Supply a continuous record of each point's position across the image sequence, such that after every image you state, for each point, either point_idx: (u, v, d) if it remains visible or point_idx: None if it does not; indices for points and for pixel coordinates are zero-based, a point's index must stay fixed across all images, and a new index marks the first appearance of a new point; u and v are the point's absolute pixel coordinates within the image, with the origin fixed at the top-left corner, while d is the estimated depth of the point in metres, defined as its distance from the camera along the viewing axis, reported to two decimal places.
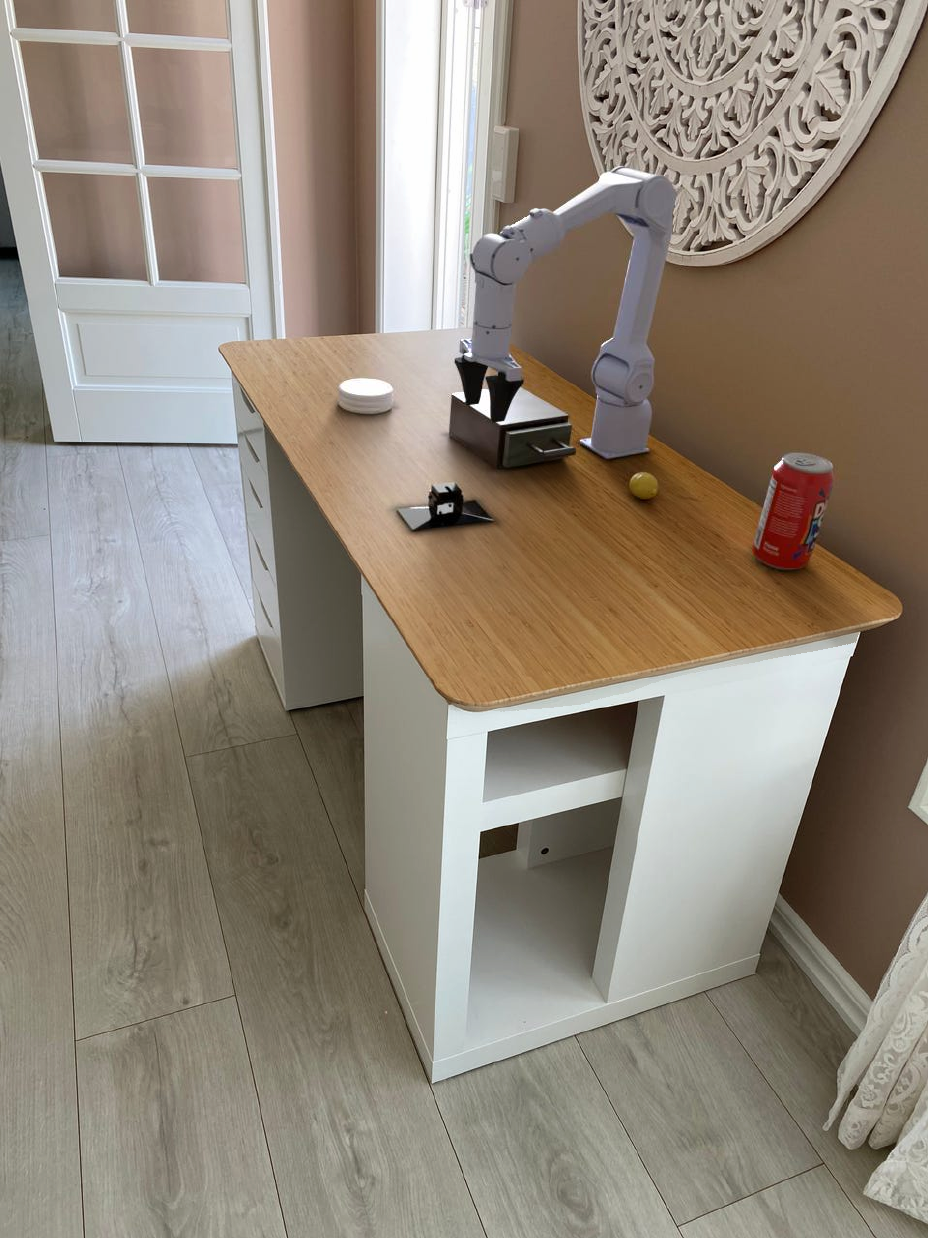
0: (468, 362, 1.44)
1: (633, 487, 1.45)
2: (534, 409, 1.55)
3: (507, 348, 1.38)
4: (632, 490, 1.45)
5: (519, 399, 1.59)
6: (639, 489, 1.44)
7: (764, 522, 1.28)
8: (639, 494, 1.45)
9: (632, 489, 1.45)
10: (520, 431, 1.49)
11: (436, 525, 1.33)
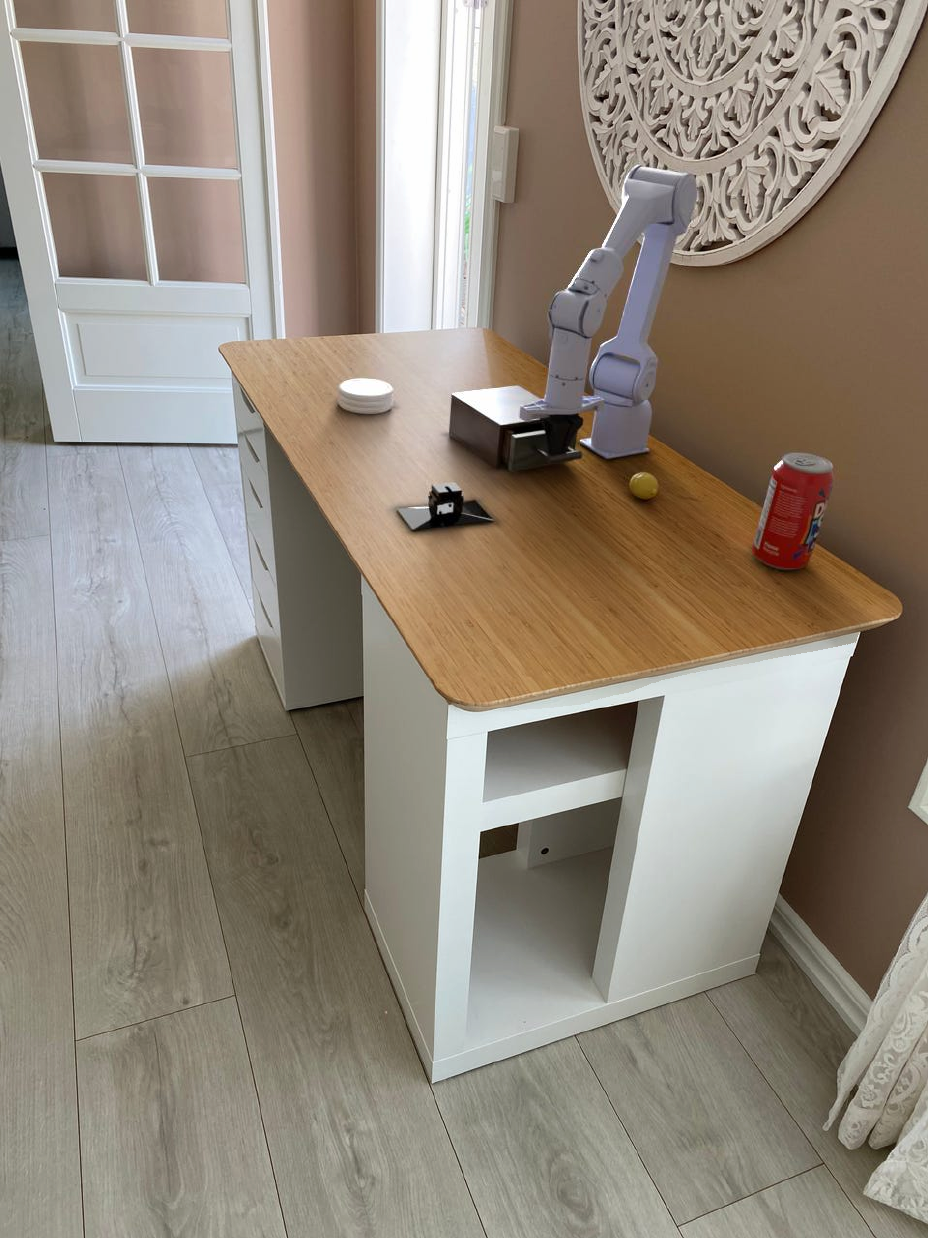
0: None
1: (633, 487, 1.45)
2: None
3: (556, 399, 1.41)
4: (632, 490, 1.45)
5: (519, 399, 1.59)
6: (639, 489, 1.44)
7: (764, 522, 1.28)
8: (639, 494, 1.45)
9: (632, 489, 1.45)
10: (526, 435, 1.48)
11: (436, 524, 1.33)
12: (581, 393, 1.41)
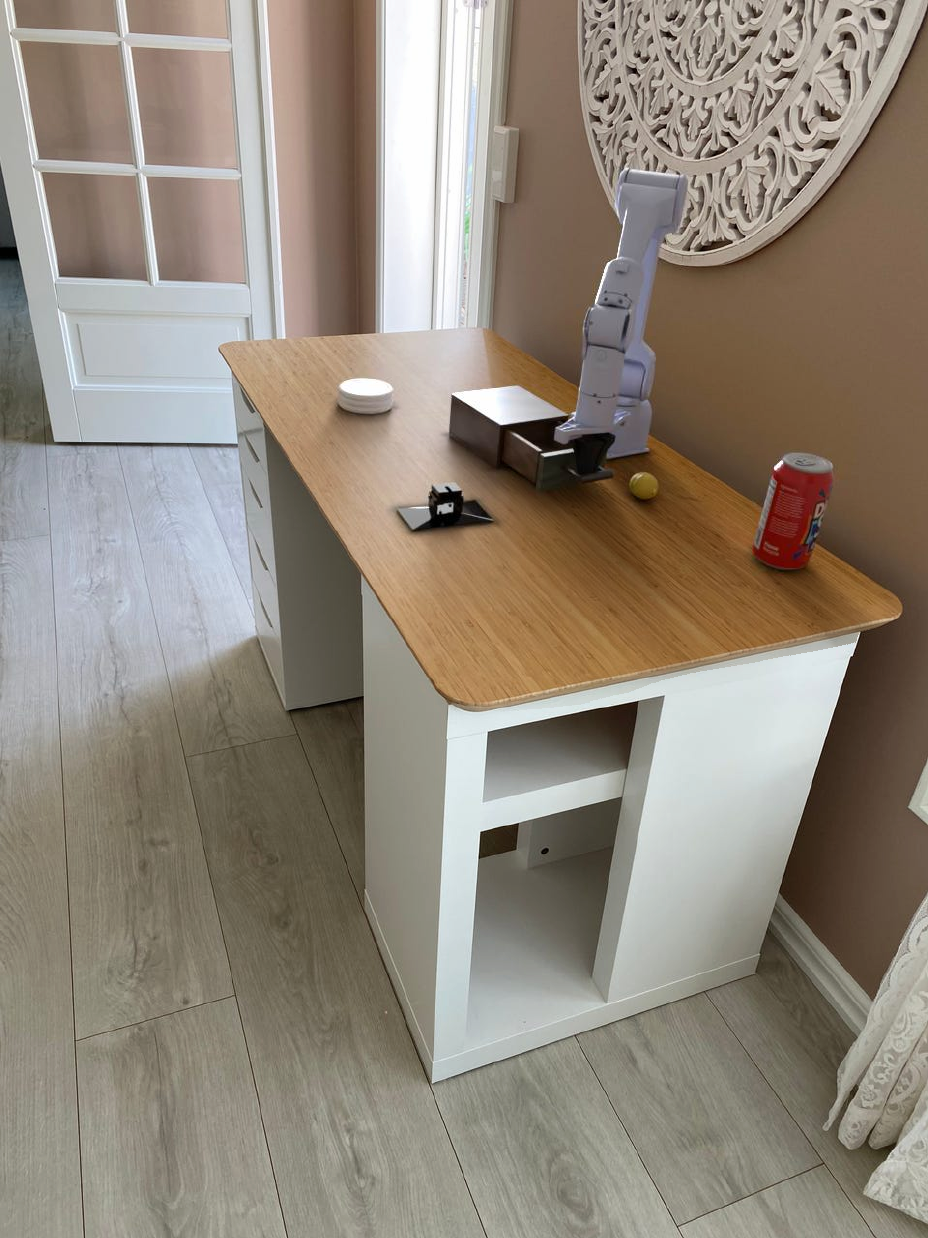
0: None
1: (633, 487, 1.45)
2: (534, 409, 1.55)
3: (591, 417, 1.35)
4: (632, 490, 1.45)
5: (519, 399, 1.59)
6: (639, 489, 1.44)
7: (764, 522, 1.28)
8: (639, 494, 1.45)
9: (632, 489, 1.45)
10: (555, 453, 1.42)
11: (436, 525, 1.33)
12: (615, 410, 1.36)
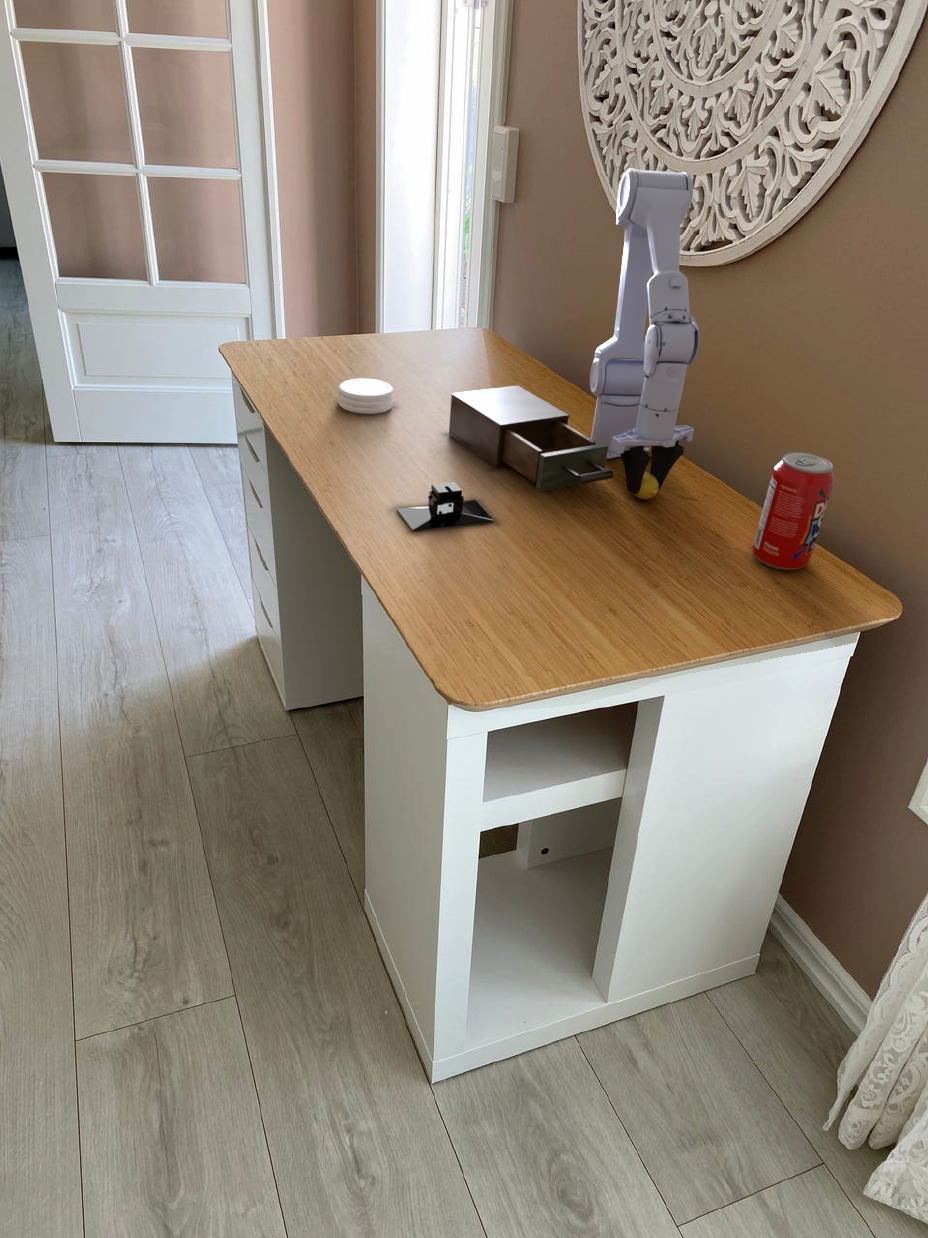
0: None
1: None
2: (534, 409, 1.55)
3: None
4: None
5: (519, 399, 1.59)
6: None
7: (764, 522, 1.28)
8: (639, 494, 1.45)
9: None
10: (555, 453, 1.42)
11: (436, 525, 1.33)
12: None
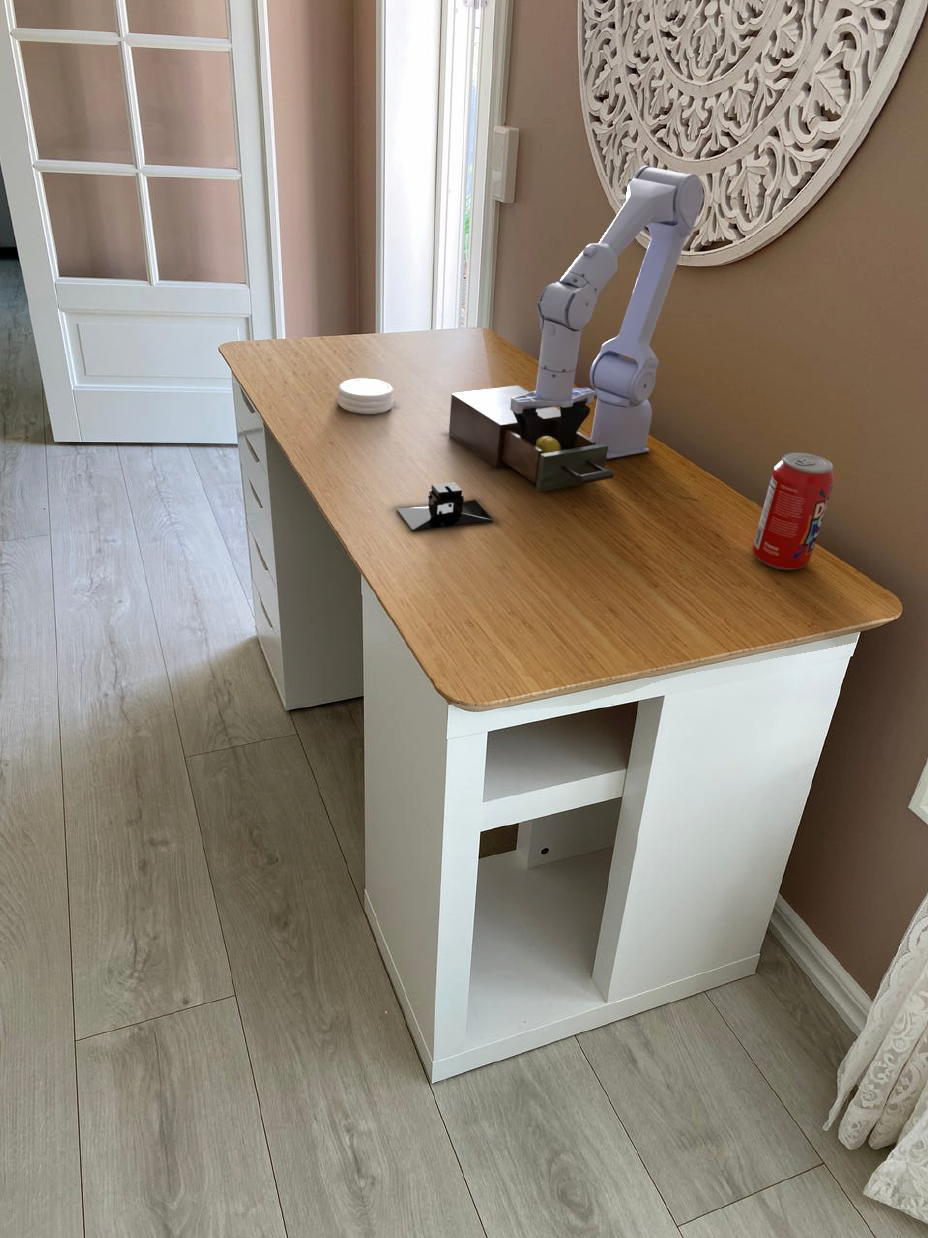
0: (537, 415, 1.44)
1: None
2: None
3: None
4: None
5: None
6: None
7: (764, 522, 1.28)
8: None
9: None
10: (555, 453, 1.42)
11: (436, 524, 1.33)
12: None
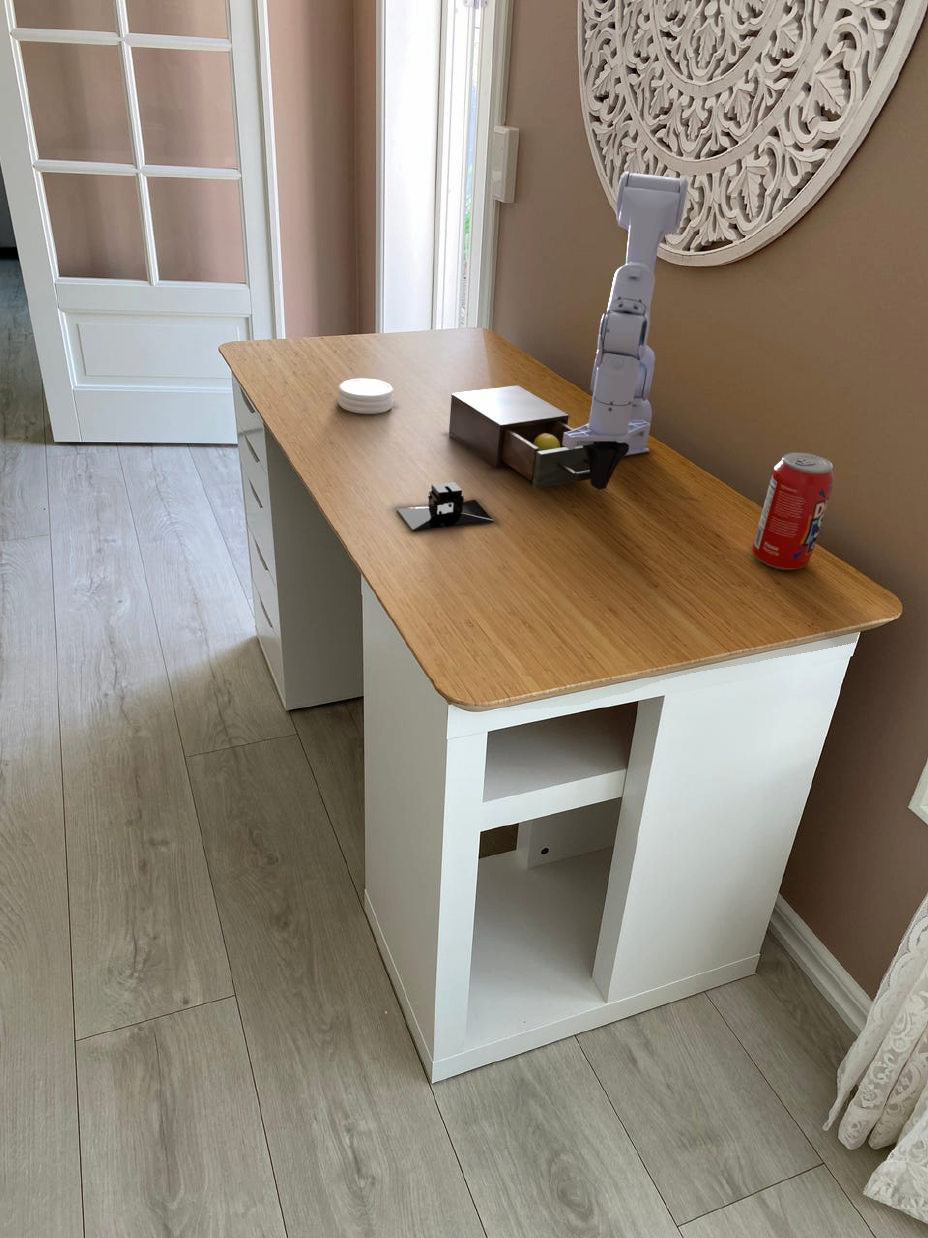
0: (609, 447, 1.36)
1: (536, 444, 1.50)
2: (534, 409, 1.55)
3: None
4: None
5: (519, 399, 1.59)
6: (542, 446, 1.49)
7: (764, 522, 1.28)
8: None
9: None
10: (551, 451, 1.43)
11: (436, 525, 1.33)
12: None
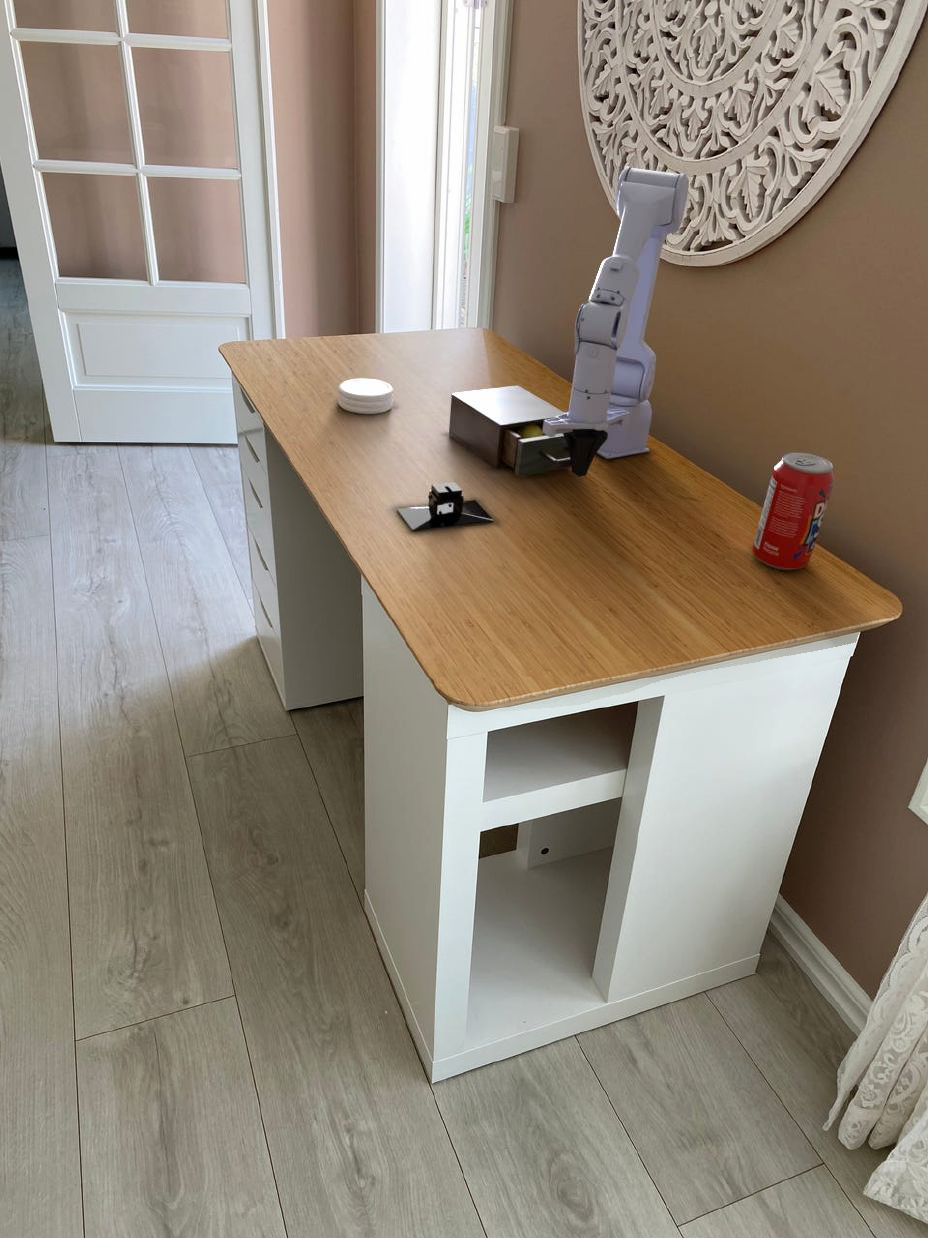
0: (588, 435, 1.40)
1: (520, 432, 1.54)
2: (534, 409, 1.55)
3: None
4: None
5: (519, 399, 1.59)
6: (525, 434, 1.53)
7: (764, 522, 1.28)
8: None
9: (519, 434, 1.54)
10: (533, 439, 1.46)
11: (436, 525, 1.33)
12: None
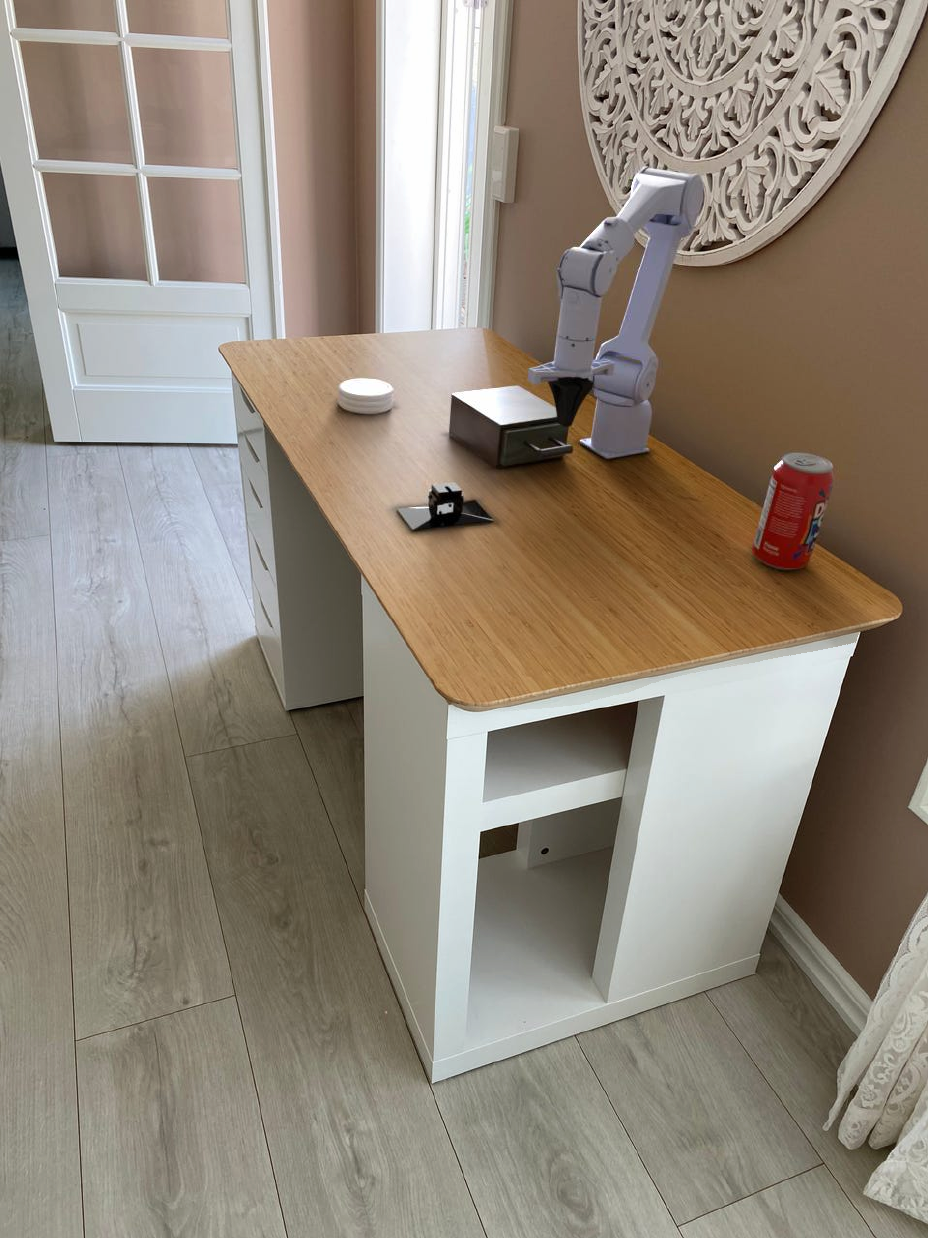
0: (573, 384, 1.40)
1: None
2: (534, 409, 1.55)
3: None
4: None
5: (519, 399, 1.59)
6: None
7: (764, 522, 1.28)
8: (513, 427, 1.56)
9: None
10: (517, 429, 1.49)
11: (436, 525, 1.33)
12: None
